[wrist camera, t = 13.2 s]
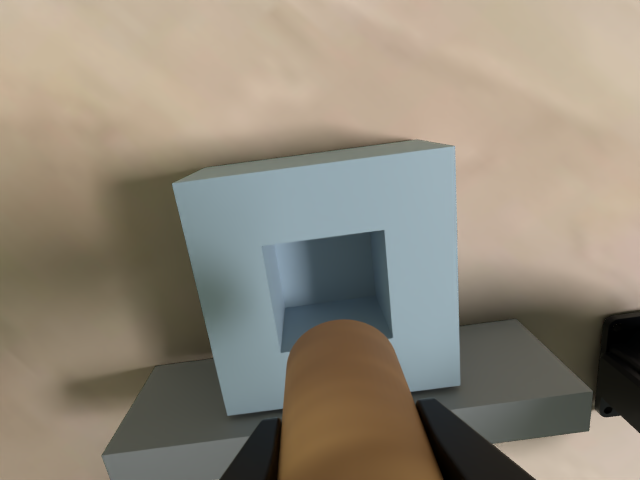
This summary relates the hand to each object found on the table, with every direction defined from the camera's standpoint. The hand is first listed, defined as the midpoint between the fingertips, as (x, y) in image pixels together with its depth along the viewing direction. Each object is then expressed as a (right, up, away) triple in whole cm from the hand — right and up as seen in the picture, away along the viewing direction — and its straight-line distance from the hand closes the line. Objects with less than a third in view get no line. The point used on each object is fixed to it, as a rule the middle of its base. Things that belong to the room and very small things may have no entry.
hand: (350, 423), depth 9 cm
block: (0, +3, +11) cm, 12 cm away
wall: (0, -2, +13) cm, 13 cm away
